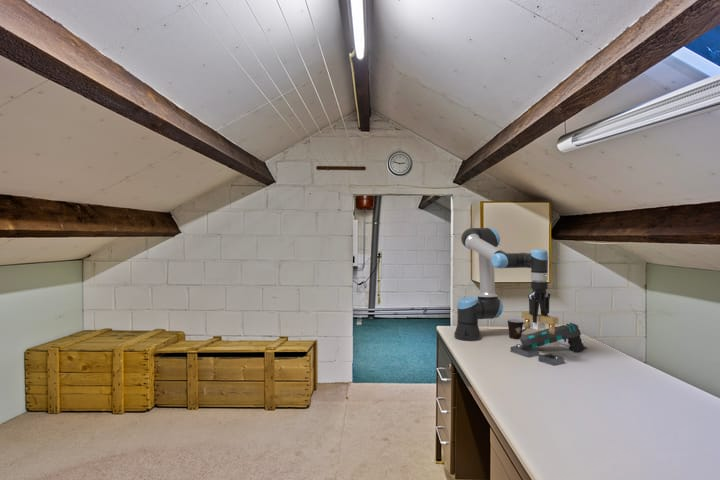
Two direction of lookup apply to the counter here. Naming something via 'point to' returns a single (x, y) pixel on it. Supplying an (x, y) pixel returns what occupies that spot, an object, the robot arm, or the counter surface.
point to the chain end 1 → (524, 350)
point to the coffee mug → (515, 328)
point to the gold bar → (541, 320)
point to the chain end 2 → (551, 359)
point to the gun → (555, 337)
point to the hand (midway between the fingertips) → (539, 328)
